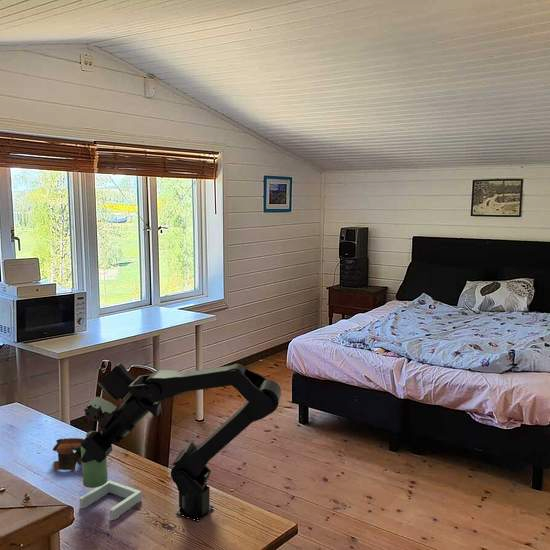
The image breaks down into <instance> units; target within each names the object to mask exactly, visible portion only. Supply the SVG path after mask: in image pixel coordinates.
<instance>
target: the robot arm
mask: <svg viewBox="0 0 550 550" xmlns="http://www.w3.org/2000/svg"><path fill="white" fill-rule="evenodd" d="M97 384H98V386H99V387H101V388H102V390H104V392H106V393H107V394H108V395H109V396H110V397H111V398H112V399H113V400H114V401H116V402H118V401H119V400H120V401H123V400H124V399H125V398H126V397H127V395H129V394H130V396H129V397H128V398H126V400H125V401H123V403H120V404H119V405H118V406H116V404H115V405H114V403H112V402H110V401H108V400H106V399H104V398H102V397H100V396H95V397H94V398H92V400H90V401H89V402H88V404H87V406H86V407H85V408H84V416H85V418H87V419H88V420H91V421H94V422H95V421H97V422H99V423H100V424H99V425H98V426H99V427H100V428H101V429H102V430H101V433H100V432H99V431H98V432H96V431H97V430H92V431H93V432H92V433H90V434H89V435H88V436H87V437H86V436H85V438H83V439H84V440H83V441H82V442H81V446H82V447H83V448H84V449H85V450H86V451H85V453H84V455H83V457H82V458H81V461H82V462H83V463H86V462H89V461H93V460H96V461H97V462H99V463H101V462H102V461H103V460H104V459H105V458H107V457H108V456H109V455H110V454H111V453H112V452H113V444H115V443H117V444H119V443H120V442H121V441H122V440H123V439H124V438H125V437H126V436H127V434H128V435H129V434H130V432H132V431H133V429H135V427H136V426H137V425H138V424H139V423H140V422H141V421H142V420H143V419H144V418H145V417H146V416H147V415H148V414H149V413H150V414H151V415H152V416H154V417H157V416H159V414H160V413H161V411H162V408H163V407H162V402H163V401H164V400H167V399H171V398H173V397H175V396H178V395H179V394H182V393H186V392H193V391H201V390H209V389H215V388H222V387H223V388H224V387H230V386H231V387H233V388H234V389H236V391H238V393H239V394H240V395H241V396H242V397H243V398H244V399H245V400H246V401H245V403H244V404H243V405H242V406H241V407H240V408H239V409H238V410H237V411H236V412H234V414H233V415H231V416H230V417H229V418H228V419H227V420H226V421H225V422H223V424H221V425H220V426H219V427H217V429H216V430H215V431H213V433H212V434H210V435H209V436H208V437H207V438H206V439H205V440H203V442H201V443H199V444H196V445H195V443H194V442H193V441H191V442H190V443H189V444H188V445H187V447H185V448H184V449H181V450H180V451H179V453H178V455H176V458H175V459H174V460H173V463H172V465H173V466H172V468H171V470H170V478H171V480H172V482H173V483H174V484H175V485H176V488H177V490H178V507H179V508H178V509H177V510H176V511H175V514H176V513H177V514H180V515H184V516H186V517H189V518H192V519H195V520H199V519H200V518H202V517H203V516H204V515H205V514H206V513H208V512H209V511H210V510H211V509H212V508H213V509H214V505H212V504H210V503H211V502H210V501H211V500H210V497H211V496H210V494H211V492H210V490H211V489H210V488H211V487H210V486H208V484H207V482H208V480H210V479H209V478H210V475H211V474H212V470H211V469H210V468H209V467H208V466H207V465H208V463H209V462H210V461H211V460H212V459H213V458H214V457H215V456H216V455H217V454H218V453H220V452H221V451H222V450H223V449H224V448H225V447H226V446H228V444H230V443H231V442H232V441H233V440H234V439H236V438H237V437H238V436H239V435H240V434H241V433H242V432H243V431H244V430H245V429H246V428H248V427H249V426H250V425H251V424H252V423H254V422H258V421H260V420H263V419H265V418H266V417H267V416H269V415H271V414H273V413H274V412H275V411H276V410H277V409H278V407H279V404H280V400H281V397H282V389H281V387H280V385H279V384H278V383H277V382H276V381H274V380H271V379H267V378H266V377H265V376H263V375H262V374H260V373H258V372H255V371H253V370H250V369H248V368H247V367H246V366H244V365H242V364H241V363H234V364H232V365H226V366H220V367H219V366H218V367H213V368H212V367H211V368H206V369H205V368H204V369H197V370H191V371H178V370H173V369H158V370H155V371H154V372H153V373H151V374H144V375H143V374H142V375H139V376H138V377H137V378H136V377H135V376H134V375H132V373H131V372H129V371H128V370H127V368H126V367H125V366H124V365H123V364H122V363H121V362H120V363H118V364H117V365H115V366H114V367H113V368H112V369H111V370H110V371H109V372H107V373H106V374H105V375H104V376H102V377H101V379H100V380H99V381H98V382H97ZM213 509H212V510H213ZM212 510H211V511H212ZM211 511H210V512H211ZM210 512H209V513H210ZM209 513H208V514H209ZM177 514H176V515H177ZM180 515H179V516H180ZM205 516H206V515H205ZM205 516H204V517H205ZM186 517H185V518H186ZM204 517H203V518H204ZM189 518H188V519H189ZM197 518H198V519H197ZM203 518H202V519H203Z"/></svg>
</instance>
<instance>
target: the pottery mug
mask: <svg viewBox="0 0 550 550" xmlns="http://www.w3.org/2000/svg"><path fill="white" fill-rule="evenodd" d="M84 439H85V438H80V437H79V438H78V437H69V438H68V437H67V438H59V439H57V440H56V444H55V445H54V446H53V447H52V451H54V452H56V453H57V458H58V460H56V461H55V460H54V461H53V470H54V471H60V470H61V471H62V470H63V471H75V469H76V465H77V464H78V465H79V466H82V461H81V442H82V441H83V440H84Z"/></svg>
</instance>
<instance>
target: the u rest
mask: <svg viewBox="0 0 550 550" xmlns="http://www.w3.org/2000/svg"><path fill="white" fill-rule="evenodd" d="M109 493H110V494H112V493H113V495H115V494H116V495H115V496H119V497H121V498H124V499H123V500H122V501H120V502H119V503H117V504H115V505H114V506H113V507H111V508H110V509H109V520H110V519H112V520H114V519H115V518H117V517H118V516H120V515H121V514H122V515H124V514H125V513H126V512H125V511H127V510H128V509H129V510H131V509H132V508H133V507H132V506H134V505H135V504H136V503H138V502H139V503H141V502H142V501H143V500H142V491H141V490H139V489H135V488H133V487H130V486H127V485H125V484H121V483H118V482H116V481H113V480H108V481H107V483H106V484H104V485H102V486H100V487H96V488H93V489H92V490H89V492H87V493H86V494H84V495H82V496H81V497H79V509H81V508H82V509H81V510H83V508H84V509H85V508H87V507H88V505H89V506H91V504H94V503H95V502H96V501H98V500H99V499H101V498H102V497H104V496H106V495H107V494H109ZM141 500H142V501H141ZM140 501H141V502H140ZM139 503H138V504H139ZM135 506H136V505H135ZM135 506H134V507H135ZM131 507H132V508H131ZM130 508H131V509H130ZM129 510H128V511H129ZM128 511H127V512H128ZM124 512H125V513H124ZM123 513H124V514H123ZM122 515H121V516H122ZM121 516H120V517H121ZM118 518H119V517H118ZM118 518H117V519H118ZM112 520H111V521H112ZM115 520H116V519H115ZM115 520H114V521H115Z"/></svg>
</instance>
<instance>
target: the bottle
mask: <svg viewBox="0 0 550 550" xmlns="http://www.w3.org/2000/svg"><path fill="white" fill-rule="evenodd" d="M93 431H94V430H92V431H88V432H86V434H85V438H86V437H87V436H88V435H89V434H90V433H92V432H93ZM95 431H96V432H99V431H97V430H95ZM85 451H86V450H85V449H84V448H83V447H82V446H81V458H82V457H83V455H84V453H85ZM107 461H108V460H107V457H106V458H105V459H104V460H103V461H102V462H101V463H99V462H97V461H96V460H93V461H89V462H86V463H83V462H82V464H81V471H82V485H83V487H84V488H90V489H92V488H93V489H95V488H97V487H100V486H102V485H104V484H106V483H107V481H108V462H107Z"/></svg>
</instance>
